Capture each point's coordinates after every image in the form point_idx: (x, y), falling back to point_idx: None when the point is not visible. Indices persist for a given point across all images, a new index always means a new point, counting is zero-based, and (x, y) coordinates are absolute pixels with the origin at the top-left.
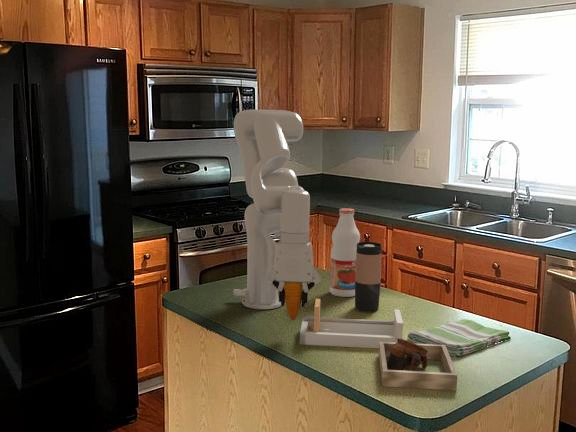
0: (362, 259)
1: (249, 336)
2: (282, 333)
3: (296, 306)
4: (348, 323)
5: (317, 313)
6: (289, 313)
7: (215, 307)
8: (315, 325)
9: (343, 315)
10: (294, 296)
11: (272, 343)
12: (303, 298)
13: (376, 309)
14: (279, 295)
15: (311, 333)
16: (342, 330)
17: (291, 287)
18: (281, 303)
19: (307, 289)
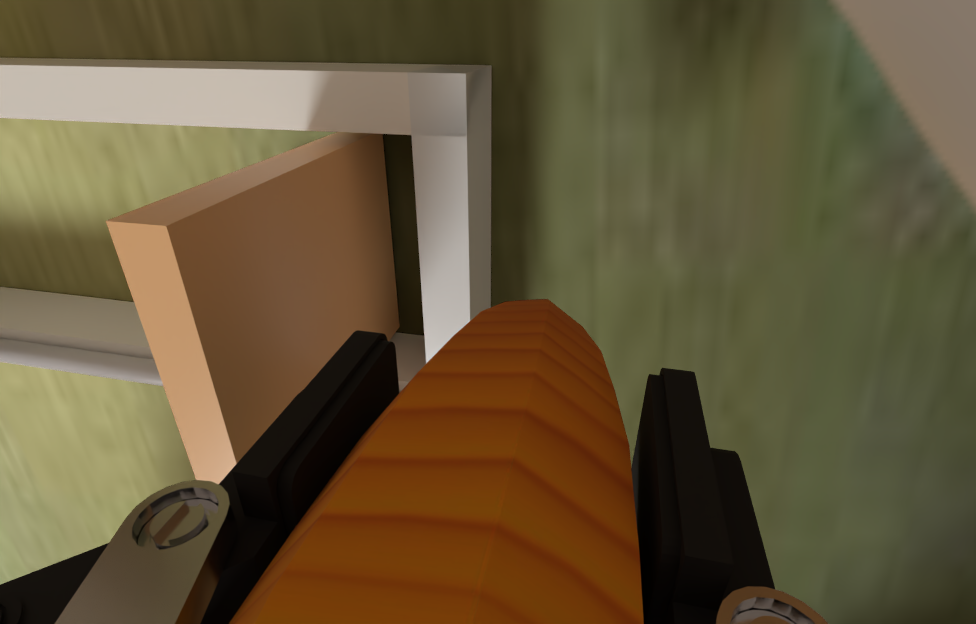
0: None
1: (969, 227)
2: (640, 307)
3: (458, 333)
4: (148, 346)
5: (194, 194)
6: (570, 318)
7: None
8: (299, 159)
9: None
10: (441, 420)
11: (749, 59)
12: (306, 400)
13: None
14: (748, 530)
15: (353, 80)
16: None
17: (447, 594)
18: (691, 391)
19: (143, 538)
